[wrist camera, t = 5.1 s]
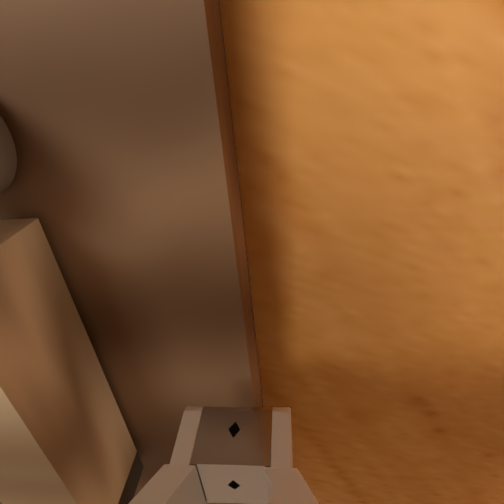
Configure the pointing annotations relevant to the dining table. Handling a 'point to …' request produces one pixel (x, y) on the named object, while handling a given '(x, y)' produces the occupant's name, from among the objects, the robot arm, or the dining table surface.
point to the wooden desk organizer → (136, 197)
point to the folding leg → (52, 381)
